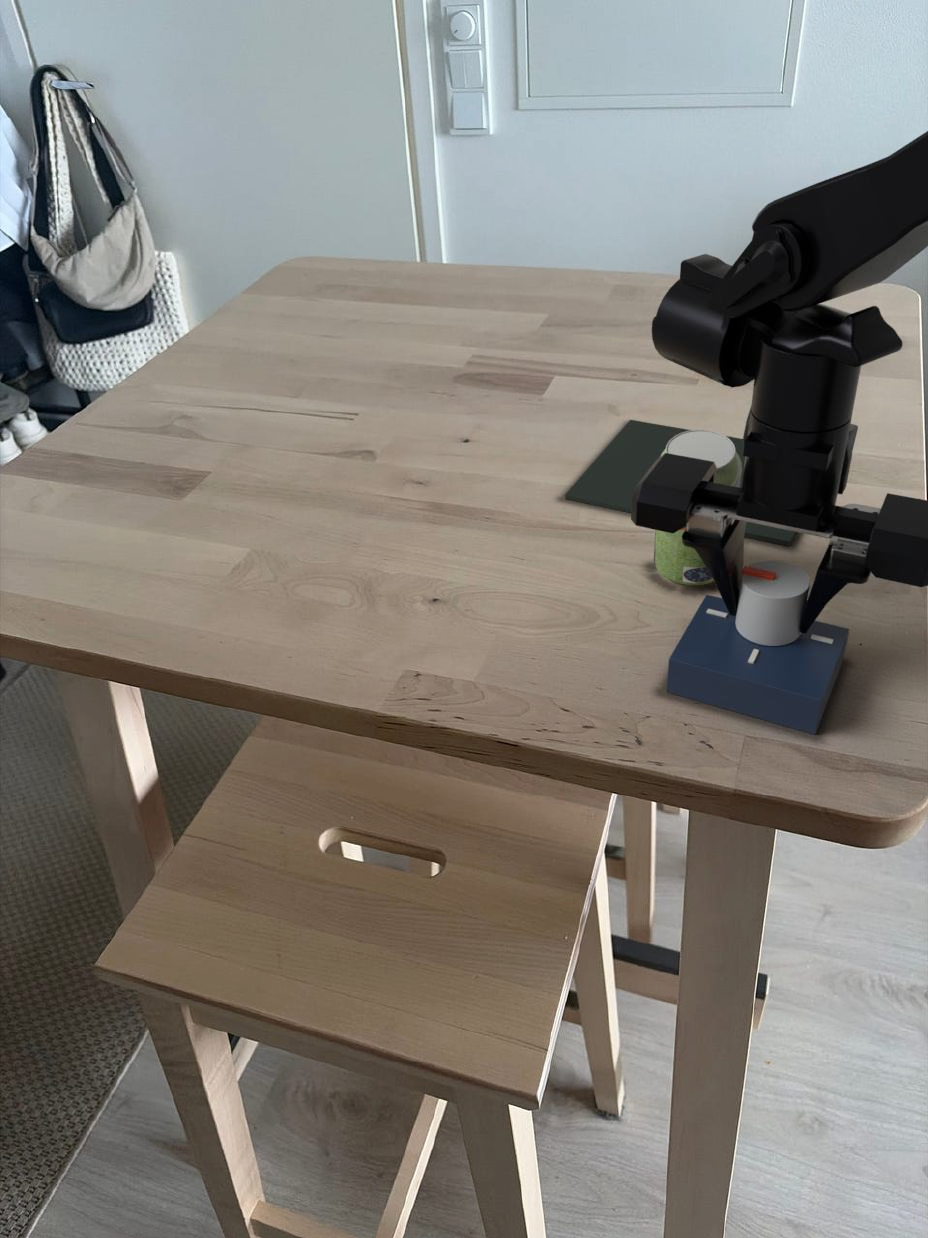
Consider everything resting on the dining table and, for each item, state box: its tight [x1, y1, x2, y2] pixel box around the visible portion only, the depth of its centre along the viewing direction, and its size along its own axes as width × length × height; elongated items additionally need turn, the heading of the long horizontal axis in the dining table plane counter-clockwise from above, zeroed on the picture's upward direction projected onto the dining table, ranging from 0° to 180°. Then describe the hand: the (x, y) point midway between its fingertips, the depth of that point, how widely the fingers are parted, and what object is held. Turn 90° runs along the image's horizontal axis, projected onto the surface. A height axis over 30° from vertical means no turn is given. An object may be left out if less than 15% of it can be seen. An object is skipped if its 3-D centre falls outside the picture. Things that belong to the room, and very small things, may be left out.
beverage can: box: [653, 429, 742, 586], centre depth 75 cm, size 6×7×12 cm
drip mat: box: [564, 419, 797, 547], centre depth 91 cm, size 20×16×1 cm
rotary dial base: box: [666, 594, 850, 735], centre depth 69 cm, size 10×10×3 cm
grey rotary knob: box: [735, 560, 811, 646], centre depth 67 cm, size 4×4×4 cm
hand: (769, 620), depth 68 cm, fingers closed on grey rotary knob, 4 cm apart
